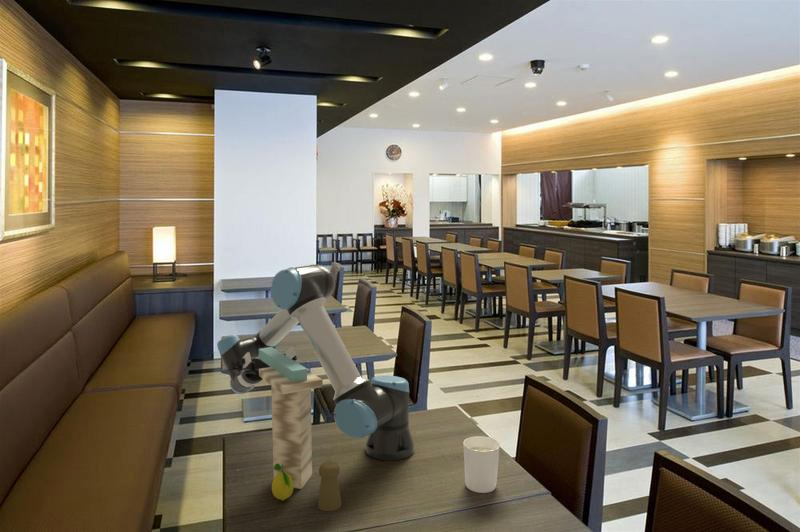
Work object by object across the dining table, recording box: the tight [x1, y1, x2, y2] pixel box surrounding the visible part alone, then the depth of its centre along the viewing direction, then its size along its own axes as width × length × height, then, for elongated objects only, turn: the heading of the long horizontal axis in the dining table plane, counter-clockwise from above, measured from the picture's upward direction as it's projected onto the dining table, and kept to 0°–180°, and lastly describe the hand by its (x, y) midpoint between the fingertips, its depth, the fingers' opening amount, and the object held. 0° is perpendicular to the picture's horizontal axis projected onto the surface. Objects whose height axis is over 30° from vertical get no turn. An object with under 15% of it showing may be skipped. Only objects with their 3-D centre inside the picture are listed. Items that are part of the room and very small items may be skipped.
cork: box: [317, 460, 342, 512], centre depth 144 cm, size 6×6×11 cm
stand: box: [259, 367, 324, 490], centre depth 156 cm, size 11×18×30 cm, turn 33°
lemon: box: [271, 463, 294, 502], centre depth 146 cm, size 7×6×10 cm
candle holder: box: [462, 435, 501, 494], centre depth 154 cm, size 10×10×12 cm
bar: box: [258, 347, 308, 382], centre depth 159 cm, size 26×4×3 cm, turn 33°
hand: (272, 353), depth 164 cm, fingers open, 13 cm apart
